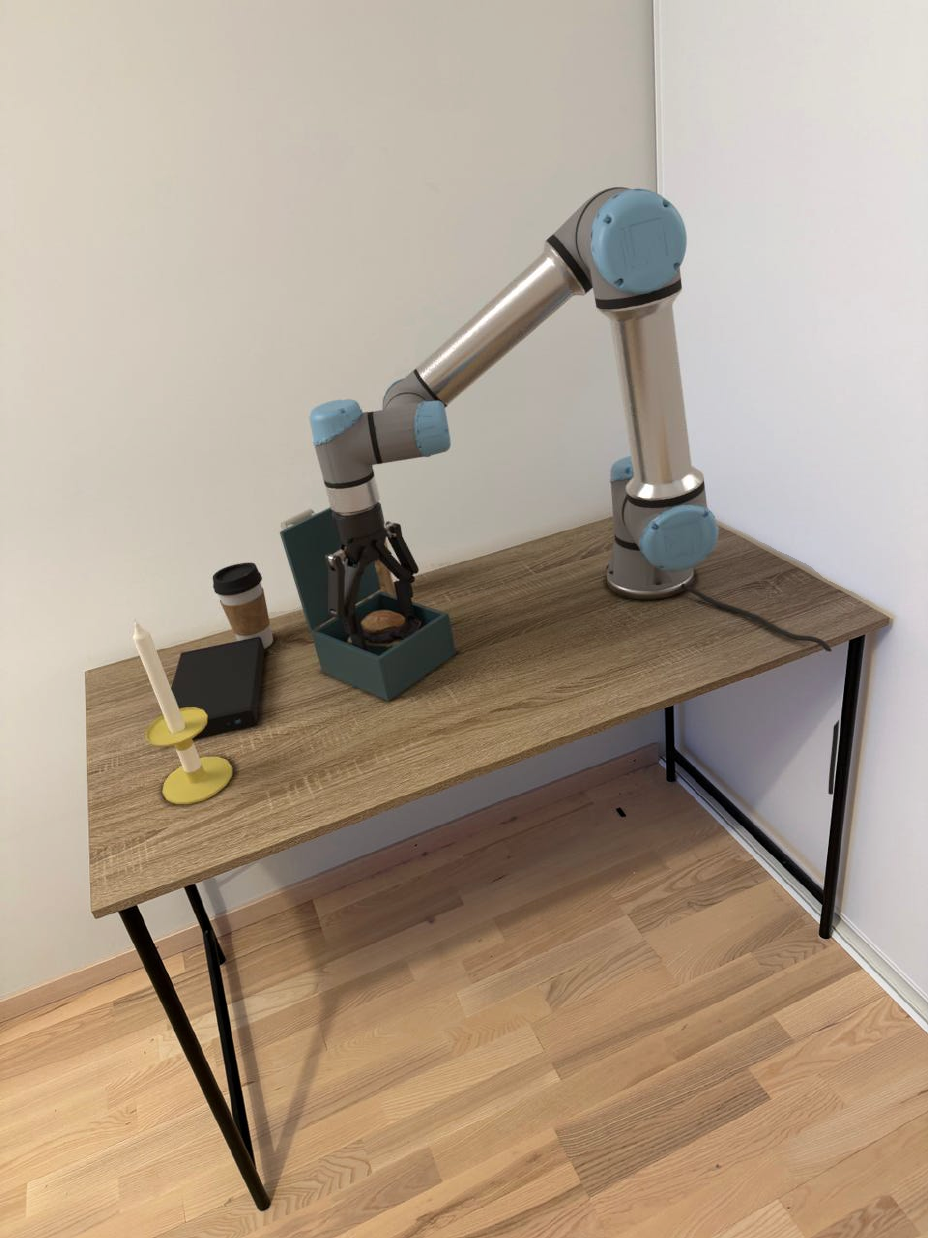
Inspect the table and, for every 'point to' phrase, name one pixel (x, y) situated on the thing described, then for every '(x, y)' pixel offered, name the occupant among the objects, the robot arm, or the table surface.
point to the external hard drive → (221, 684)
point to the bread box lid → (317, 562)
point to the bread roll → (387, 628)
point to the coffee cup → (244, 601)
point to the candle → (180, 735)
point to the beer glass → (384, 575)
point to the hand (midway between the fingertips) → (384, 632)
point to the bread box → (385, 650)
